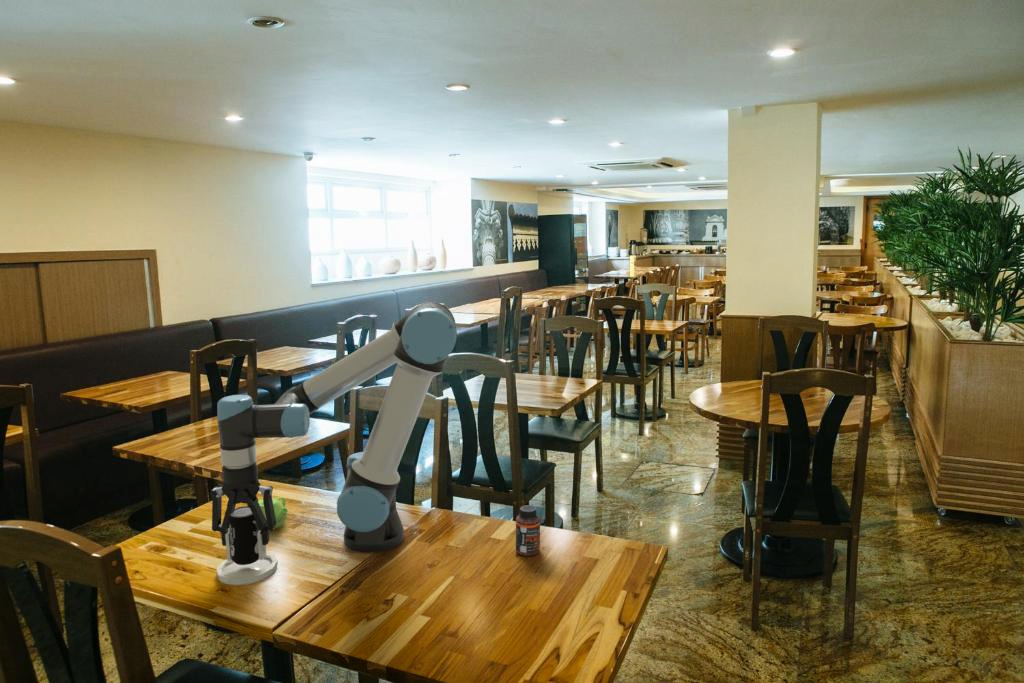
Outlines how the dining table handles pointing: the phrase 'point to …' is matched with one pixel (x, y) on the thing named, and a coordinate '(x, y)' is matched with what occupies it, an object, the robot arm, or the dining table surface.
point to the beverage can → (243, 536)
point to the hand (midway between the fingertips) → (247, 557)
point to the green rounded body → (277, 511)
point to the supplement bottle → (527, 531)
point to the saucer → (246, 571)
